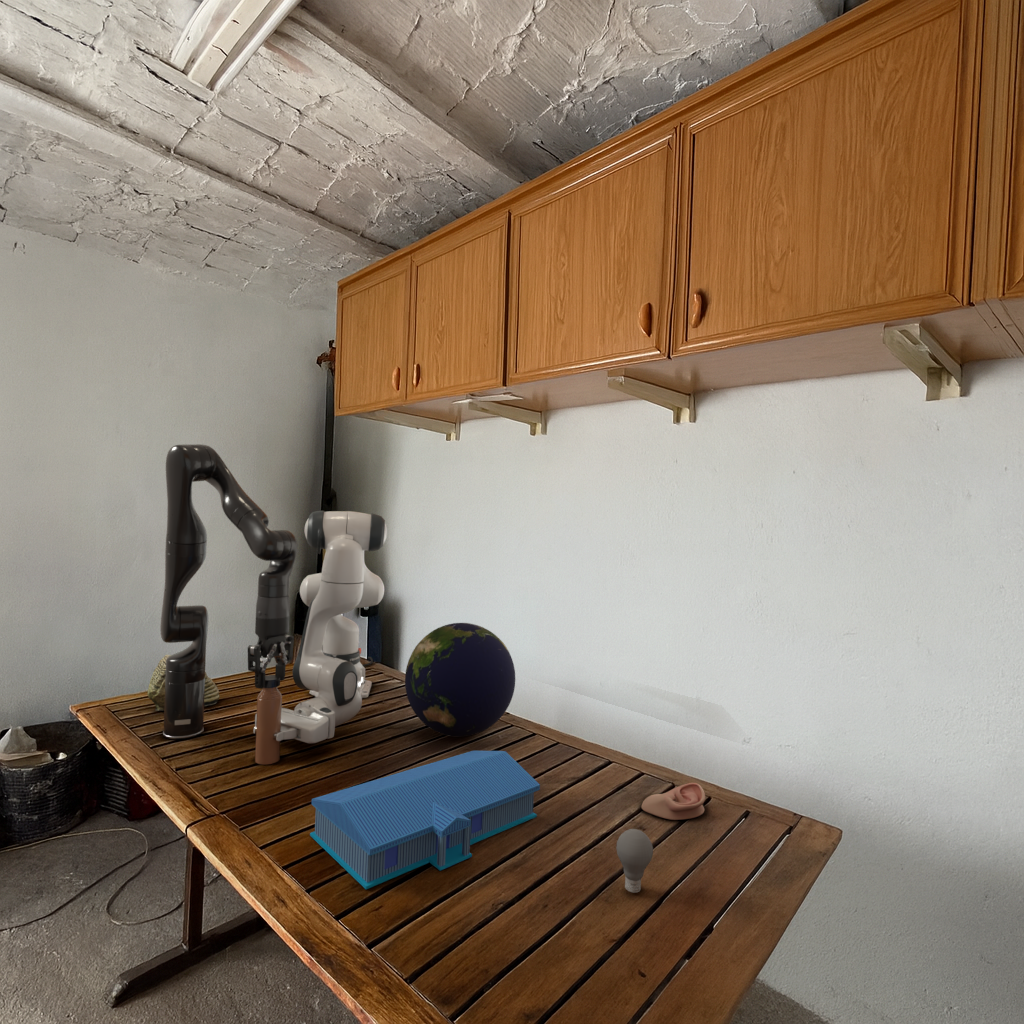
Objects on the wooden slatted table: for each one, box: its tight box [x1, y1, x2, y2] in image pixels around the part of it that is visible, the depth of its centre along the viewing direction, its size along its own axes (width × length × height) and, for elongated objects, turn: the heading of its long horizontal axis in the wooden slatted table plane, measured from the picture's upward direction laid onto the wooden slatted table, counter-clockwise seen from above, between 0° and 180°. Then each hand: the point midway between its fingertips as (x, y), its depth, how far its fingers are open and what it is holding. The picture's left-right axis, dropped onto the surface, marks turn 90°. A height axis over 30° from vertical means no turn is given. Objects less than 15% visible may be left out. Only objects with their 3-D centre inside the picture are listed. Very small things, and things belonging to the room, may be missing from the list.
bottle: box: [254, 687, 283, 766], centre depth 151 cm, size 6×6×19 cm
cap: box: [264, 674, 281, 688], centre depth 151 cm, size 4×4×2 cm
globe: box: [404, 622, 516, 738], centre depth 173 cm, size 30×30×30 cm
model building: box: [309, 750, 541, 890], centre depth 123 cm, size 39×24×10 cm, turn 132°
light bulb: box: [615, 828, 654, 894], centre depth 106 cm, size 6×6×10 cm
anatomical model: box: [640, 782, 706, 821], centre depth 135 cm, size 13×4×12 cm
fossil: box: [147, 654, 221, 712], centre depth 185 cm, size 9×18×15 cm, turn 132°
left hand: (270, 683), depth 151 cm, fingers open, 6 cm apart
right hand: (265, 734), depth 150 cm, fingers closed on bottle, 5 cm apart
